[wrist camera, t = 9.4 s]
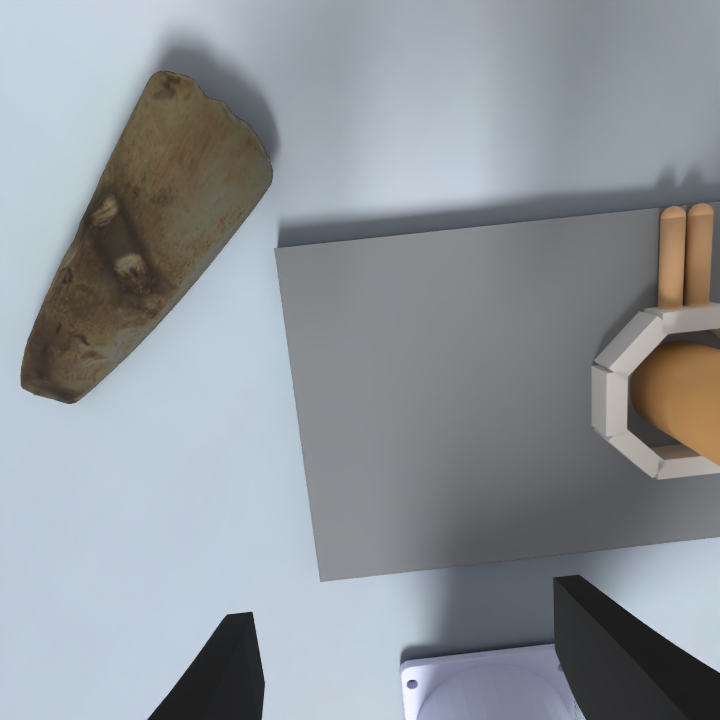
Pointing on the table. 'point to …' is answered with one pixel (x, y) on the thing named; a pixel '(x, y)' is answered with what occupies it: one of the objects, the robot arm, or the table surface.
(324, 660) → the table surface
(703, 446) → the stepped orange capsule
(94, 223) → the stone
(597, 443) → the mat
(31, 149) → the table surface
